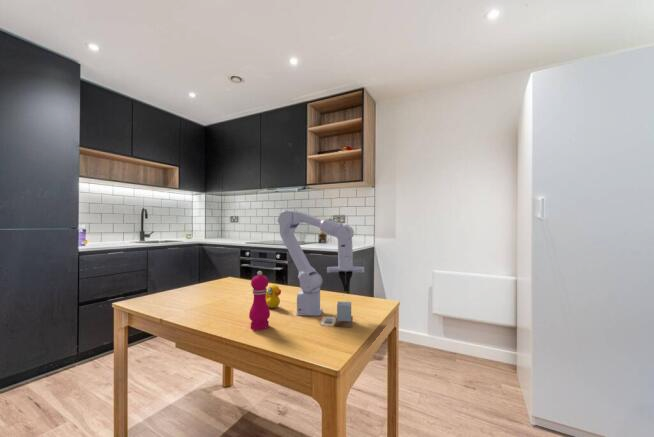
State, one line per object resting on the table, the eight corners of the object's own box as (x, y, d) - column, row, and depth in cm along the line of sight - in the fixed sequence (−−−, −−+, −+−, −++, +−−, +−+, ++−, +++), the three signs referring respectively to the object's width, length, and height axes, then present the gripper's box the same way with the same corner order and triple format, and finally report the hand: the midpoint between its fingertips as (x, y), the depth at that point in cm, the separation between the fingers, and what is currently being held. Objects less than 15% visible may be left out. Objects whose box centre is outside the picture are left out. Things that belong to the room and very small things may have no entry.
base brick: (335, 326, 98) (335, 321, 98) (336, 320, 104) (336, 315, 104) (352, 327, 97) (352, 321, 97) (352, 321, 103) (352, 315, 103)
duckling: (285, 309, 117) (285, 286, 117) (274, 312, 114) (274, 288, 114) (271, 303, 126) (271, 281, 126) (260, 306, 122) (260, 283, 122)
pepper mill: (259, 332, 93) (259, 273, 93) (244, 328, 97) (244, 271, 97) (274, 325, 99) (274, 270, 99) (259, 321, 103) (259, 268, 103)
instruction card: (320, 325, 99) (320, 324, 99) (323, 317, 107) (323, 316, 107) (334, 325, 99) (334, 324, 99) (336, 317, 107) (336, 317, 107)
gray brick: (337, 320, 98) (337, 305, 98) (338, 316, 103) (337, 301, 103) (351, 321, 98) (351, 305, 98) (351, 316, 102) (351, 301, 103)
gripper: (325, 257, 105) (326, 293, 104) (364, 257, 103) (364, 293, 103) (327, 255, 112) (328, 288, 111) (363, 255, 110) (364, 289, 110)
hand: (345, 290), depth 108 cm, fingers closed
